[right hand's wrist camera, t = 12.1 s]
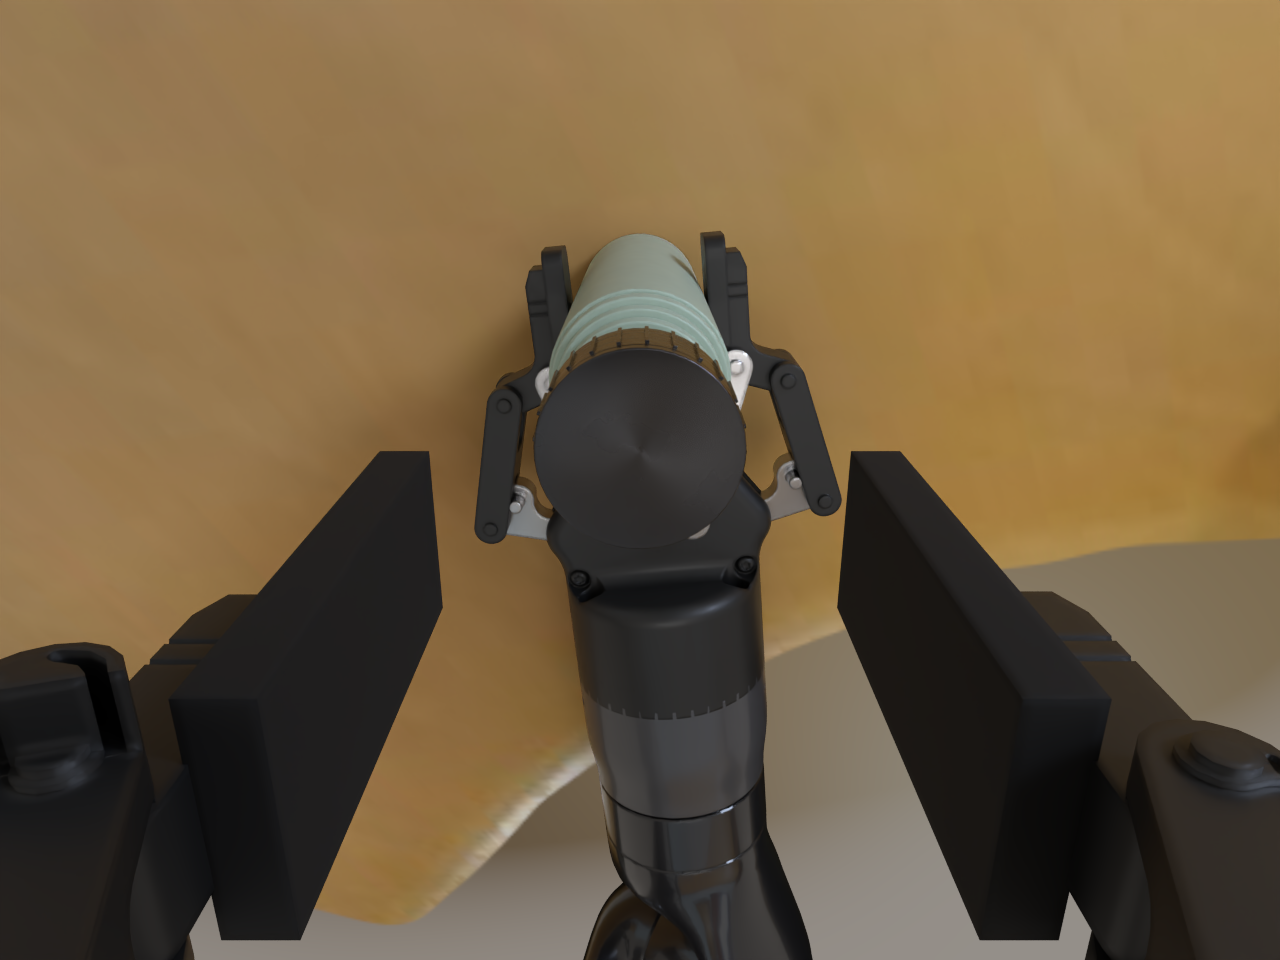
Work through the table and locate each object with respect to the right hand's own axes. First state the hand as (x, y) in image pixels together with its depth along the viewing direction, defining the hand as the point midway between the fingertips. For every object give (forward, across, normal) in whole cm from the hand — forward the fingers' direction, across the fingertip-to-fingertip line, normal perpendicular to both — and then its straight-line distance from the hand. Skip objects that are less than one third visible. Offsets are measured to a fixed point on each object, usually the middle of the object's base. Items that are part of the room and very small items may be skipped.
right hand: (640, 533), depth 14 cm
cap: (+4, 0, 0) cm, 4 cm away
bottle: (+25, 0, 0) cm, 25 cm away
